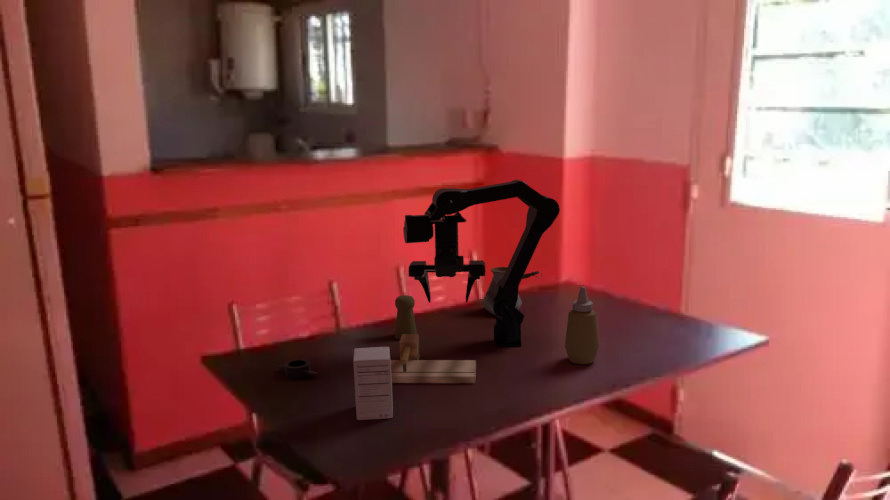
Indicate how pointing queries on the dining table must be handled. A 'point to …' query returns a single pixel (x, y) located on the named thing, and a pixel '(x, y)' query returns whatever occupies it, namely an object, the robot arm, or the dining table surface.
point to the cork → (405, 316)
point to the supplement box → (373, 383)
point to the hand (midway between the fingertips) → (448, 302)
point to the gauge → (409, 348)
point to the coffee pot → (497, 276)
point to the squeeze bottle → (582, 331)
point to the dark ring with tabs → (297, 369)
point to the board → (434, 371)
